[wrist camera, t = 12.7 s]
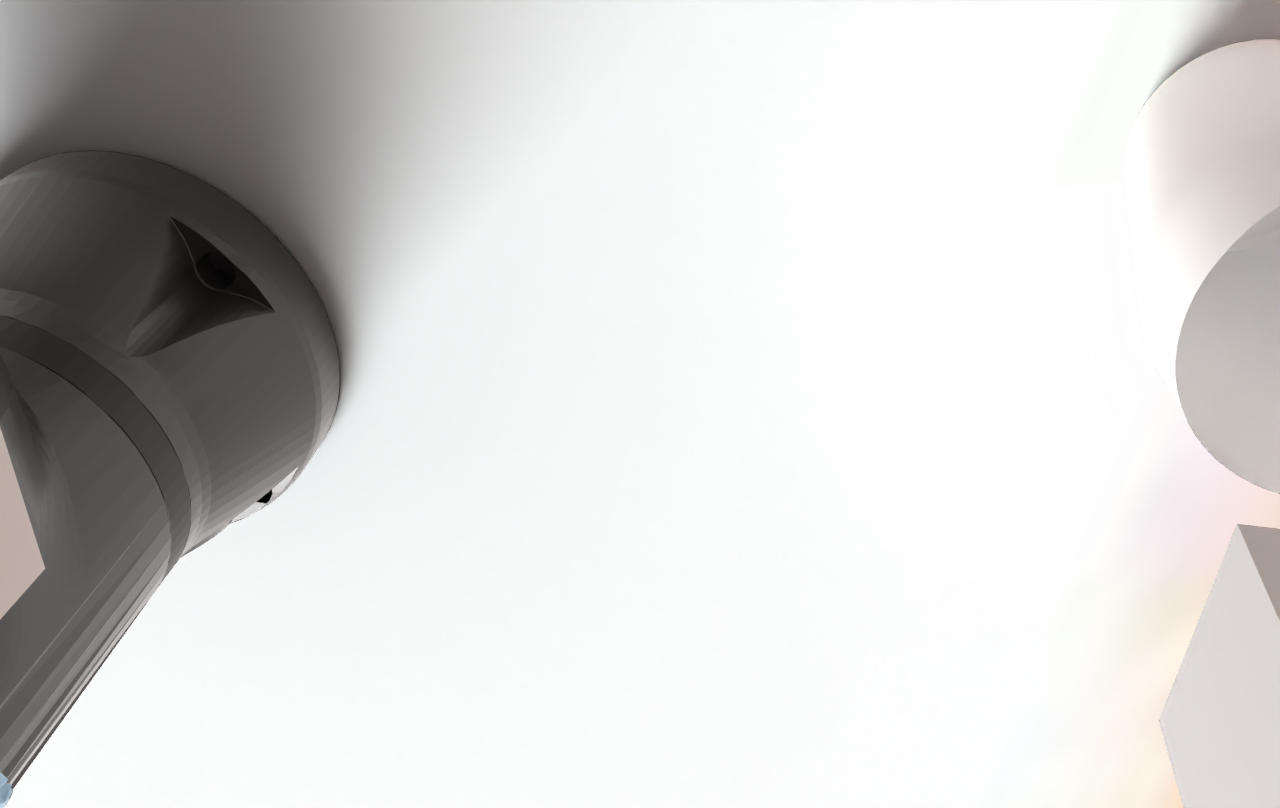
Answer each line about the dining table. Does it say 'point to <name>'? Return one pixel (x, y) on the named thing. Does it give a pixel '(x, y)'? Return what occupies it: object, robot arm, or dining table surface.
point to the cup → (1214, 248)
